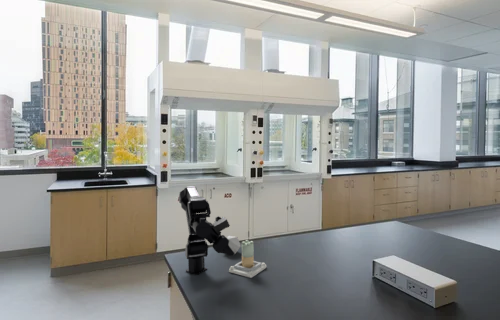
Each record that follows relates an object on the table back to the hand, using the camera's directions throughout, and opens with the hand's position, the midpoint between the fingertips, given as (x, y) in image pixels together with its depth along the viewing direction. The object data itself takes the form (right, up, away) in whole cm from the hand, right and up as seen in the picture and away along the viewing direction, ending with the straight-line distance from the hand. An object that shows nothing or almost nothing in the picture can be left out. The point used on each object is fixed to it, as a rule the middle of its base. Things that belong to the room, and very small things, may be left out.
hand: (230, 251), depth 132 cm
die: (-1, -8, +24) cm, 25 cm away
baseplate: (+7, -9, +3) cm, 12 cm away
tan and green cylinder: (+7, -8, +3) cm, 11 cm away
